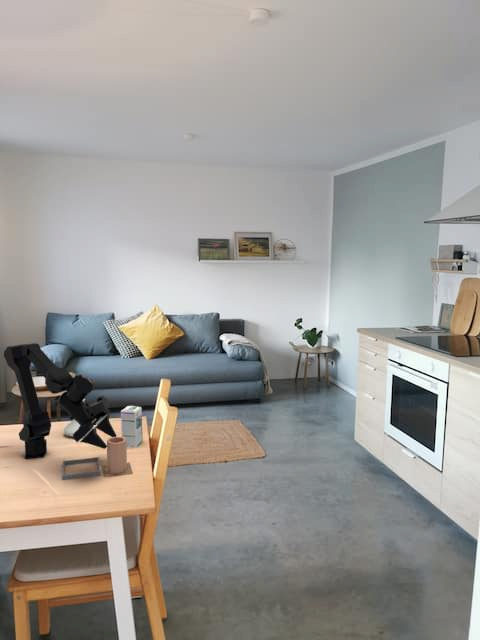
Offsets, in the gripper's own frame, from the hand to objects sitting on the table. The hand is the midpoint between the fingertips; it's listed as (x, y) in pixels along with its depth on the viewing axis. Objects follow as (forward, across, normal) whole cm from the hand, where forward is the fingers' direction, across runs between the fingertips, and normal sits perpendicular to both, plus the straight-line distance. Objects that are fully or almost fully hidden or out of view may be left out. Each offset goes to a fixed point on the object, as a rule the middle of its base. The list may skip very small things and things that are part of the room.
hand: (110, 442), depth 162 cm
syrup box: (+8, +22, +7) cm, 24 cm away
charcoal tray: (0, -1, +14) cm, 14 cm away
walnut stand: (+8, 0, +6) cm, 10 cm away
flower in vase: (-10, +31, +24) cm, 41 cm away
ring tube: (+8, 0, +5) cm, 9 cm away
